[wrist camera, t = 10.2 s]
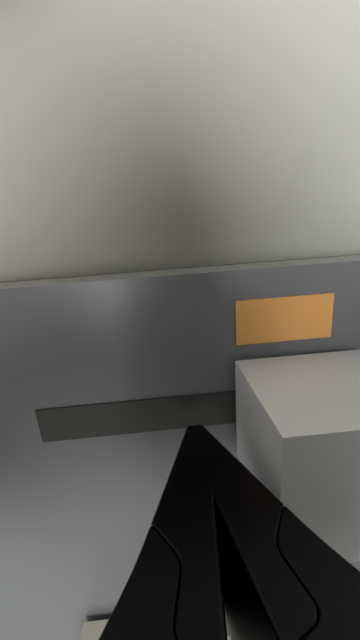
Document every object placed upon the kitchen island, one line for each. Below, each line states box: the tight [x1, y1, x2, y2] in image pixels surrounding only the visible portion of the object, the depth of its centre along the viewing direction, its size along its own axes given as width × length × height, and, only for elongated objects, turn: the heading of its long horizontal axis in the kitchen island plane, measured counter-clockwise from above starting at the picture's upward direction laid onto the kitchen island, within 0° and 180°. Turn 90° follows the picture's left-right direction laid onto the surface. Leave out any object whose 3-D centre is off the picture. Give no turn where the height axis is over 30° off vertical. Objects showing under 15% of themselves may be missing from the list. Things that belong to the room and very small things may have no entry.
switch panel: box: [0, 255, 360, 640], centre depth 11 cm, size 16×20×2 cm
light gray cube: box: [235, 349, 360, 563], centre depth 7 cm, size 4×4×4 cm
